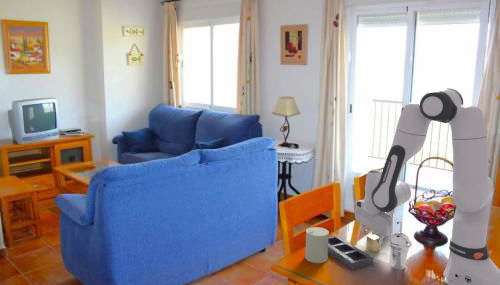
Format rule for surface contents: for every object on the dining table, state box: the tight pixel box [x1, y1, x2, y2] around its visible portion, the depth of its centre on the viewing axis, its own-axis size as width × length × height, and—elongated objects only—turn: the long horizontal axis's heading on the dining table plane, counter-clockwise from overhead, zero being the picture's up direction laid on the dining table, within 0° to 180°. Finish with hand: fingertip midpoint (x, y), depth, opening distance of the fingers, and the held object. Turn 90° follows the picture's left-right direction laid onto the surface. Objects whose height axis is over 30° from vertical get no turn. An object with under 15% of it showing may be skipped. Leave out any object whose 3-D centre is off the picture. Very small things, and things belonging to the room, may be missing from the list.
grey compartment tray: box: [328, 235, 374, 271], centre depth 178 cm, size 24×10×3 cm, turn 24°
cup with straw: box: [388, 220, 413, 270], centre depth 166 cm, size 8×9×20 cm
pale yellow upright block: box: [365, 234, 381, 254], centre depth 183 cm, size 4×4×6 cm
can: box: [304, 226, 330, 264], centre depth 175 cm, size 9×9×12 cm
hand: (371, 238), depth 182 cm, fingers open, 8 cm apart
